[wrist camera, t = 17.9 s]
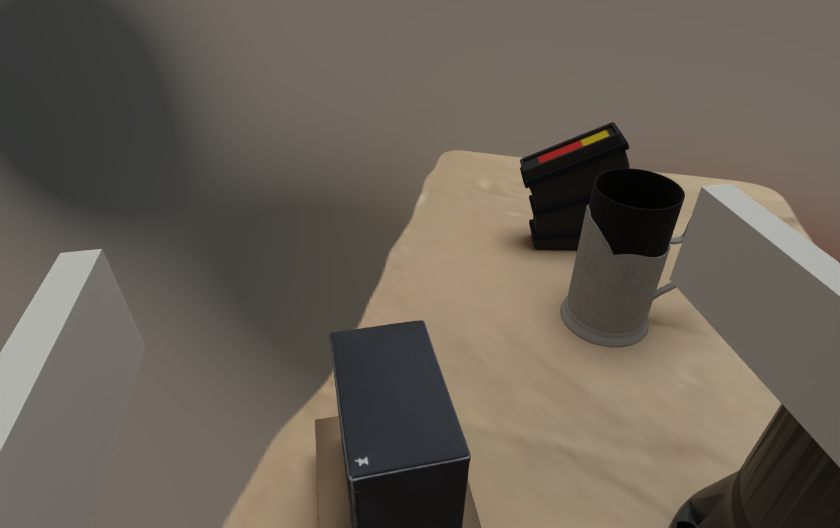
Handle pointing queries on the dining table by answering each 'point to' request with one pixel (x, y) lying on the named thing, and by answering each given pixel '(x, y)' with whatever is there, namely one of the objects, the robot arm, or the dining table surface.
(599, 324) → the glass holder
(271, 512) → the dining table surface
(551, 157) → the magazine
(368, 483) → the small box
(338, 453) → the walnut stand
